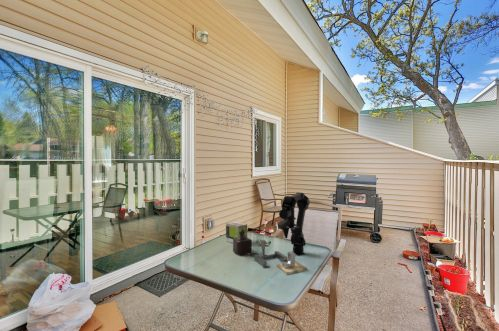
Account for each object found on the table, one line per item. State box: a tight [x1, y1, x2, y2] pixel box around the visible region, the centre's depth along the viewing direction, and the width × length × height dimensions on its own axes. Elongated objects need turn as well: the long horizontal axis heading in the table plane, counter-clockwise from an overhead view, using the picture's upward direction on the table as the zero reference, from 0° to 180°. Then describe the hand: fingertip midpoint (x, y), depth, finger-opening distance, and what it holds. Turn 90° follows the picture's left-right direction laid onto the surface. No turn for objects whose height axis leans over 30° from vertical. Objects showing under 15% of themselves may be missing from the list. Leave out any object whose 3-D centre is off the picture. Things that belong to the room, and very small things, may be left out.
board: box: [275, 260, 308, 275], centre depth 151 cm, size 14×12×1 cm
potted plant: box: [232, 229, 253, 256], centre depth 176 cm, size 16×11×18 cm
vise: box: [254, 250, 288, 268], centre depth 161 cm, size 17×12×4 cm
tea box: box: [225, 221, 248, 244], centre depth 200 cm, size 15×10×15 cm
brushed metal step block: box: [281, 251, 296, 269], centre depth 150 cm, size 7×3×8 cm, turn 114°
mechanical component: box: [255, 239, 272, 256], centre depth 172 cm, size 3×10×10 cm, turn 79°
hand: (290, 240), depth 162 cm, fingers open, 9 cm apart
